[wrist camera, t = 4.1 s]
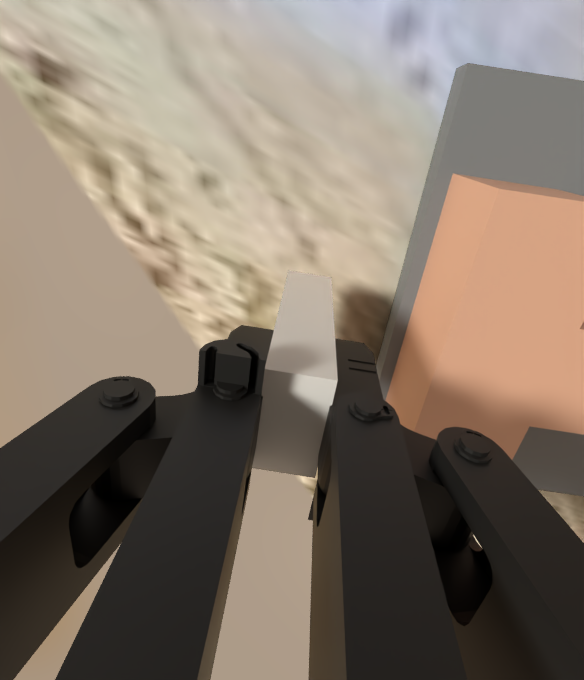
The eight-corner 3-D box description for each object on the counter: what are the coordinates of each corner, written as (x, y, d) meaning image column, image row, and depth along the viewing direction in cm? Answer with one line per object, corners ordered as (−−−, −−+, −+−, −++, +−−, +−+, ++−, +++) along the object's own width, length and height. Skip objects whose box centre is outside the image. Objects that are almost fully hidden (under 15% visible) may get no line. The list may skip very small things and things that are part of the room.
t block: (452, 173, 14) (499, 188, 10) (750, 219, 14) (903, 250, 10) (381, 413, 18) (395, 483, 15) (604, 447, 18) (672, 524, 15)
